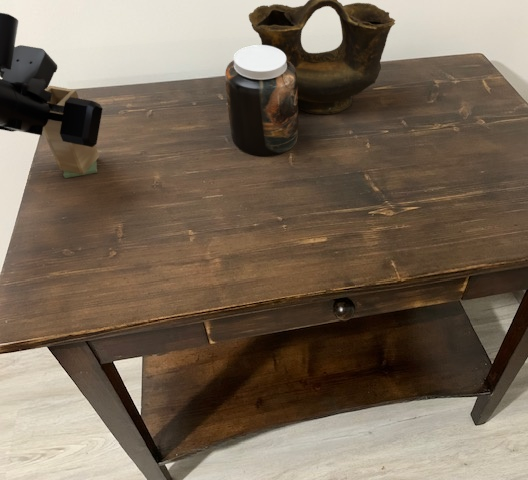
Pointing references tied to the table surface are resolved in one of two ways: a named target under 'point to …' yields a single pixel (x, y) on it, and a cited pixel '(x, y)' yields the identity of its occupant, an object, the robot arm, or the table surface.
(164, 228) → the table surface
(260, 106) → the jar
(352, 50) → the pottery vessel
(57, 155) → the square pencil holder
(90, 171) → the coat peg
